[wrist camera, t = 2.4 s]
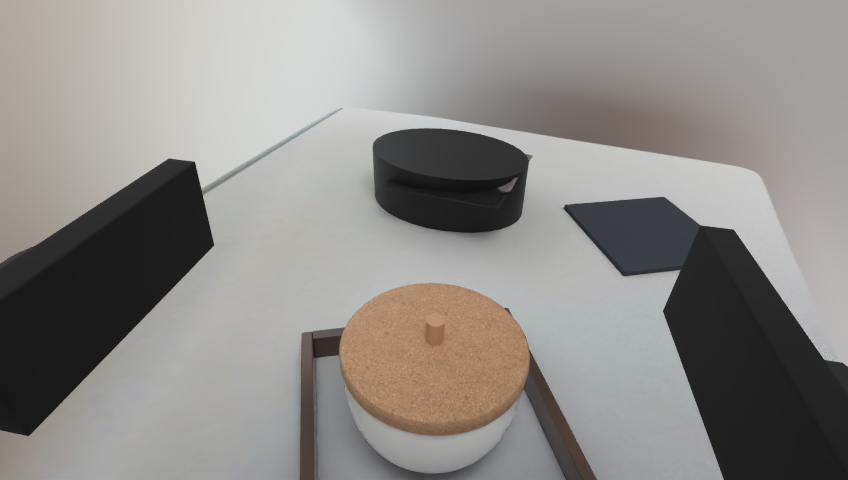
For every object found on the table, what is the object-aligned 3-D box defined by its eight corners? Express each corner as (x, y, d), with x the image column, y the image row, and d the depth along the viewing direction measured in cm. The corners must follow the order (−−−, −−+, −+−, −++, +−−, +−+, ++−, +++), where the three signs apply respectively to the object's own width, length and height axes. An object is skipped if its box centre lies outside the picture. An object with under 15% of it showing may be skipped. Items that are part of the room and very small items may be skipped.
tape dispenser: (406, 170, 66) (402, 118, 62) (537, 191, 59) (542, 133, 55) (349, 223, 55) (340, 163, 51) (502, 256, 48) (505, 190, 44)
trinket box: (383, 348, 37) (381, 248, 32) (523, 384, 34) (545, 282, 29) (317, 475, 28) (298, 366, 23) (495, 536, 26) (519, 429, 21)
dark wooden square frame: (603, 528, 26) (612, 509, 25) (303, 593, 23) (298, 575, 22) (504, 325, 39) (508, 307, 38) (304, 351, 37) (301, 332, 35)
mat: (741, 262, 48) (743, 258, 48) (623, 276, 46) (625, 271, 45) (662, 200, 58) (664, 196, 58) (563, 208, 56) (564, 204, 56)
